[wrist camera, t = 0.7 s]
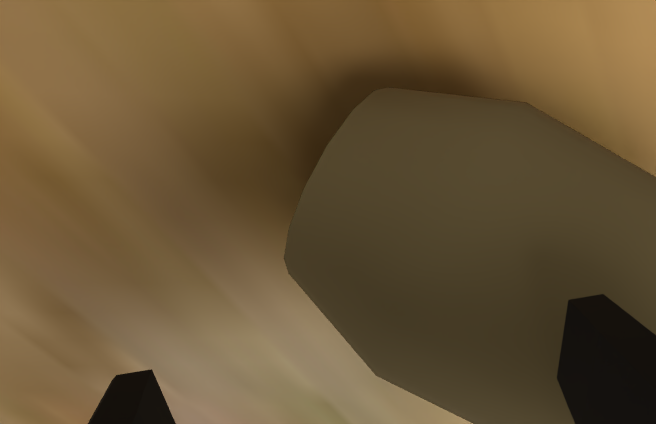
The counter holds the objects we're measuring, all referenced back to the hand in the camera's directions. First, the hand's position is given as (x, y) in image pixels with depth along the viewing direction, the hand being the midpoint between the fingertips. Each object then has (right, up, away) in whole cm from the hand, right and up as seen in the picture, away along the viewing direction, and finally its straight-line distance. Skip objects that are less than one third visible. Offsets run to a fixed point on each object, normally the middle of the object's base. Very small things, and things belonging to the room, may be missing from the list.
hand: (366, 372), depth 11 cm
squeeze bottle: (-1, +4, +7) cm, 8 cm away
